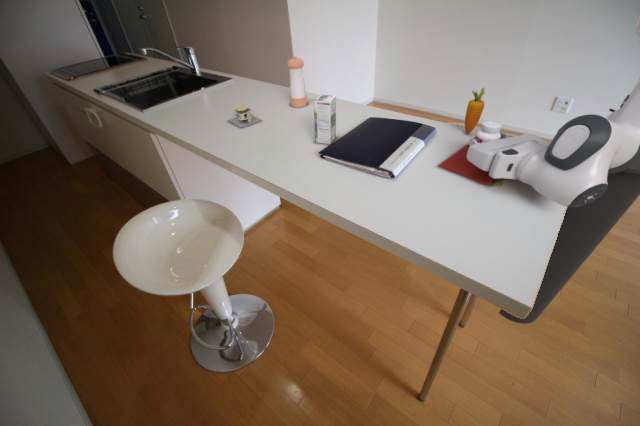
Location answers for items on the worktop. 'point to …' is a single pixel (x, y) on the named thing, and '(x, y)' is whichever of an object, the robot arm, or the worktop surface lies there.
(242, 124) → the stacked layers on plate
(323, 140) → the syrup box
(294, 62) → the pepper shaker
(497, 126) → the pill bottle
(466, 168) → the red pad
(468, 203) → the worktop surface
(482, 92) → the carrot
